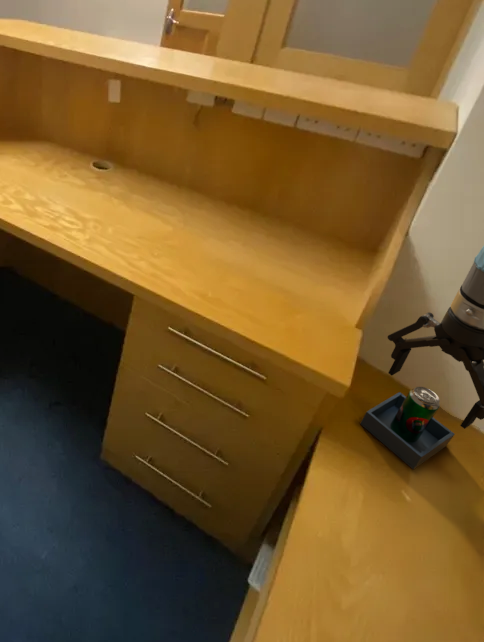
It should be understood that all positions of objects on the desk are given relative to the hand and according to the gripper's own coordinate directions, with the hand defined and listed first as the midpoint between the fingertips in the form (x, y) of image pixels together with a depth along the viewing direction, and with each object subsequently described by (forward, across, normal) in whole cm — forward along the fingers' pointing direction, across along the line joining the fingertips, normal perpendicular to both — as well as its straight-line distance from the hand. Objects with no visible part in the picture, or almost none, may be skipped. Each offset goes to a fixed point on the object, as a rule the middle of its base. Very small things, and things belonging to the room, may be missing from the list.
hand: (428, 396), depth 99 cm
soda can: (+12, 0, 0) cm, 12 cm away
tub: (+12, 0, 0) cm, 12 cm away
